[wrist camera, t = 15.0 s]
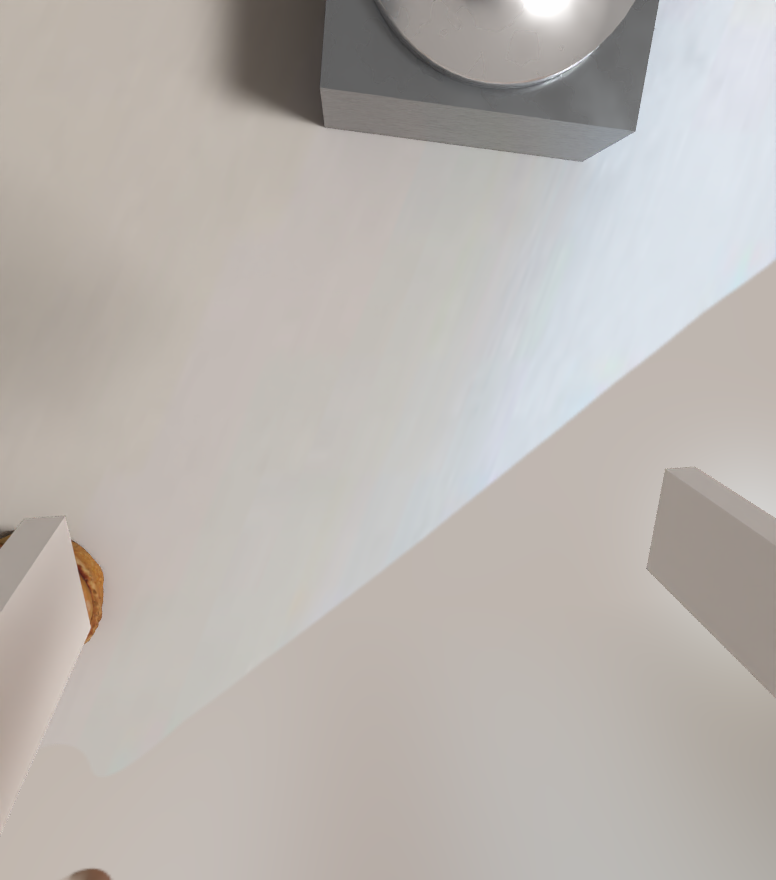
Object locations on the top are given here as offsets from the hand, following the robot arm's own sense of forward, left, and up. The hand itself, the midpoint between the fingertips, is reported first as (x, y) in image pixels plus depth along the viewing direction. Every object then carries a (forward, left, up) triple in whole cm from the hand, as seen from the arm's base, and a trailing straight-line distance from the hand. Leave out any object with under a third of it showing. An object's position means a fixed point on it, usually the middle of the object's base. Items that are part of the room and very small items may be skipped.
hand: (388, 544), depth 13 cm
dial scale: (+4, +23, -27) cm, 36 cm away
